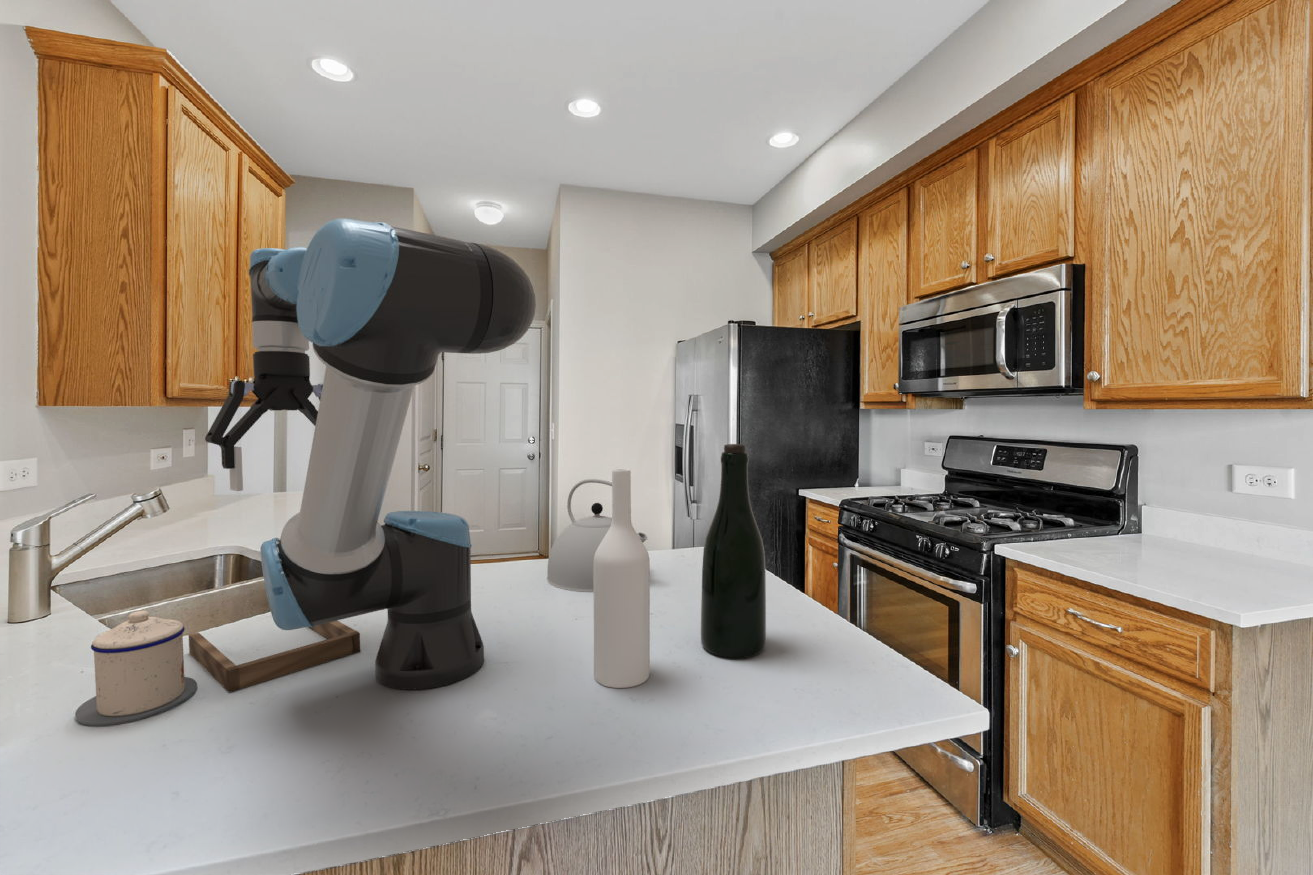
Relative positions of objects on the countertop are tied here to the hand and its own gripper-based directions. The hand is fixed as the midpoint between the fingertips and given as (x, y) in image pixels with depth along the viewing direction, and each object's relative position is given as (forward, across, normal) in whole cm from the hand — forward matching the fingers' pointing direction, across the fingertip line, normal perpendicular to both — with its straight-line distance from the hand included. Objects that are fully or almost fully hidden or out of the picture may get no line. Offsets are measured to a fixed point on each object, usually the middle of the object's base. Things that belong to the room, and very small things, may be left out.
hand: (286, 485), depth 94 cm
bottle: (+27, -24, +49) cm, 61 cm away
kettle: (+27, -59, +14) cm, 66 cm away
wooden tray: (+26, +2, 0) cm, 26 cm away
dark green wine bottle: (+27, -42, +58) cm, 76 cm away
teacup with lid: (+26, +20, +3) cm, 33 cm away
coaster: (+26, +20, +3) cm, 33 cm away
